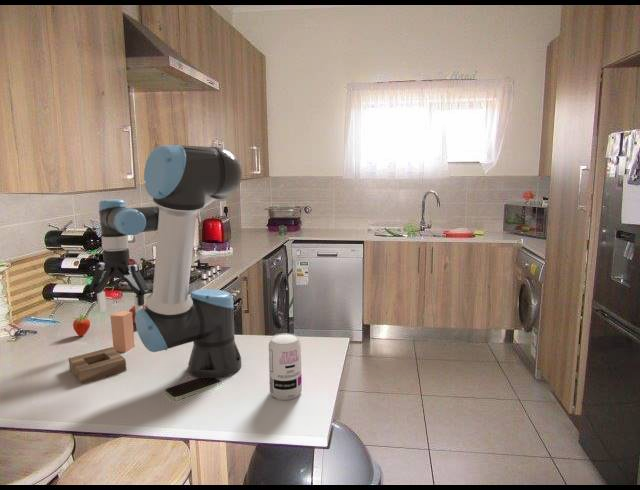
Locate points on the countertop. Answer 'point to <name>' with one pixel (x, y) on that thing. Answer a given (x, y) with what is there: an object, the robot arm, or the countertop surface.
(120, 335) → the peg
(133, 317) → the dragon fruit
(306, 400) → the countertop surface
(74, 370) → the socket
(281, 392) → the supplement can
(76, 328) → the fruit
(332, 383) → the countertop surface
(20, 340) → the countertop surface
